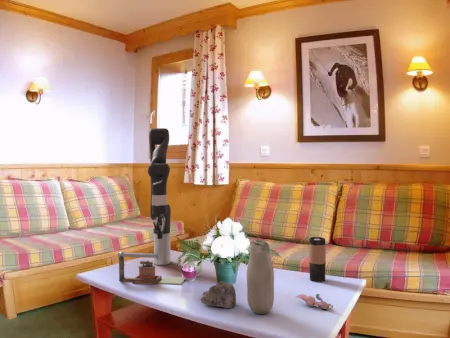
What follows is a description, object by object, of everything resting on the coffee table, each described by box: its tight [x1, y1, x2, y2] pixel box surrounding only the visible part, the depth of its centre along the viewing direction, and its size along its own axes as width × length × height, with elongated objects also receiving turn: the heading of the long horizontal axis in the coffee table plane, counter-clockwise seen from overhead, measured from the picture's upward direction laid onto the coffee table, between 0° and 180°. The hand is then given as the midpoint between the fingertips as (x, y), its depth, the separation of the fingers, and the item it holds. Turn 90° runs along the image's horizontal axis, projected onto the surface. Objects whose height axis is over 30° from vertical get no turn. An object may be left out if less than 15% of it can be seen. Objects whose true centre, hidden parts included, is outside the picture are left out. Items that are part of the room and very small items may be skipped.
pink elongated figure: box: [295, 293, 334, 311], centre depth 162 cm, size 6×6×15 cm
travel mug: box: [308, 236, 327, 283], centre depth 195 cm, size 8×8×20 cm
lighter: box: [138, 260, 156, 279], centre depth 196 cm, size 8×3×10 cm, turn 84°
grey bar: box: [117, 251, 160, 260], centre depth 196 cm, size 3×21×3 cm, turn 80°
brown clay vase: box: [246, 239, 275, 315], centre depth 156 cm, size 10×10×28 cm
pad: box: [158, 276, 185, 286], centre depth 196 cm, size 9×11×1 cm
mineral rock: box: [200, 281, 237, 309], centre depth 165 cm, size 13×11×10 cm
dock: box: [118, 257, 163, 285], centre depth 197 cm, size 7×20×11 cm, turn 80°
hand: (160, 238), depth 201 cm, fingers closed
